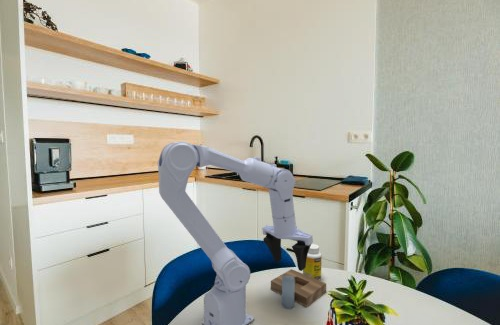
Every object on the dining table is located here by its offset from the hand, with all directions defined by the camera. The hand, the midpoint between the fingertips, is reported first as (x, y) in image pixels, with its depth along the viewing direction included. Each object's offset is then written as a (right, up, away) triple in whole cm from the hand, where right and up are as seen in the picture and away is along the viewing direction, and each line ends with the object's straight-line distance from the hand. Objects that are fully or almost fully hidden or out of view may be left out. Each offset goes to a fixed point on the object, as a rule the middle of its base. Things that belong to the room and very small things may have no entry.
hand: (289, 264), depth 67 cm
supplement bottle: (+9, -10, +13) cm, 19 cm away
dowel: (-1, -10, 0) cm, 10 cm away
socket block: (+3, -10, +6) cm, 12 cm away
